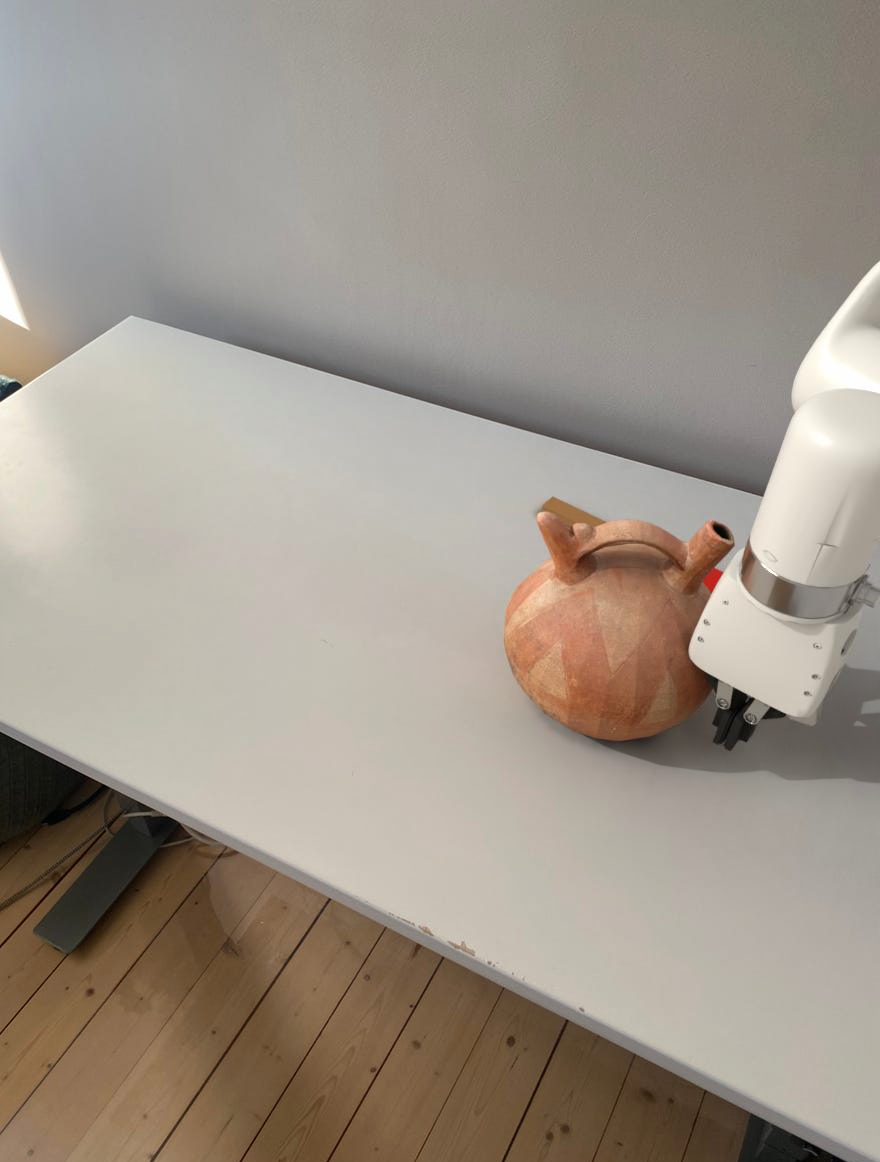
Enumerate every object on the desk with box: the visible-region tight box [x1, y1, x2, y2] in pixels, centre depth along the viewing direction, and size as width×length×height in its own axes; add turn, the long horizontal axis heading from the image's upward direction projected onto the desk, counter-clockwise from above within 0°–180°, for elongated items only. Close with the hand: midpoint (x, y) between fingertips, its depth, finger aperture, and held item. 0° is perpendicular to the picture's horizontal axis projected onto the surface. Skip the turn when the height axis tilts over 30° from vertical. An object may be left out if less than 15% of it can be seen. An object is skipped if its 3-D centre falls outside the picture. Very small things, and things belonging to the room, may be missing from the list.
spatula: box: [541, 496, 724, 594], centre depth 97 cm, size 4×22×1 cm, turn 49°
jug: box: [503, 511, 736, 742], centre depth 77 cm, size 18×18×20 cm
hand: (729, 736), depth 76 cm, fingers closed
